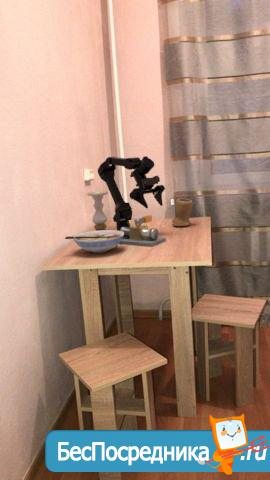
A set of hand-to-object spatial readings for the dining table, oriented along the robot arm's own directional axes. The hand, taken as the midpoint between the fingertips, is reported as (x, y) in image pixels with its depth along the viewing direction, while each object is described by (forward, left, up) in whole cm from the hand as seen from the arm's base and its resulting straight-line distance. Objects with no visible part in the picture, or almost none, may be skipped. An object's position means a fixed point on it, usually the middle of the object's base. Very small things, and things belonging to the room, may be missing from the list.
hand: (154, 206), depth 204 cm
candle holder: (-27, -6, -16) cm, 32 cm away
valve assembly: (-6, -9, -16) cm, 19 cm away
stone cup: (+5, +34, -16) cm, 38 cm away
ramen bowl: (-18, -28, -16) cm, 36 cm away
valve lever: (-5, -5, -7) cm, 10 cm away
